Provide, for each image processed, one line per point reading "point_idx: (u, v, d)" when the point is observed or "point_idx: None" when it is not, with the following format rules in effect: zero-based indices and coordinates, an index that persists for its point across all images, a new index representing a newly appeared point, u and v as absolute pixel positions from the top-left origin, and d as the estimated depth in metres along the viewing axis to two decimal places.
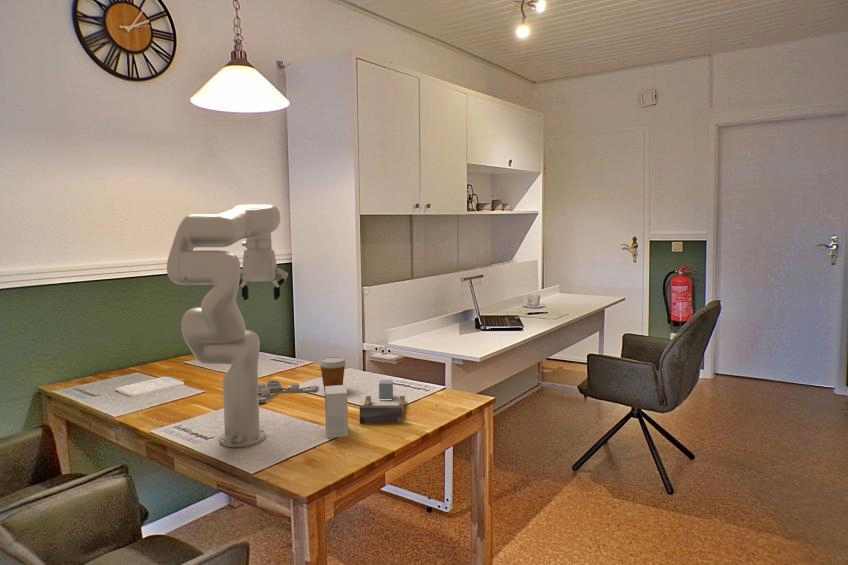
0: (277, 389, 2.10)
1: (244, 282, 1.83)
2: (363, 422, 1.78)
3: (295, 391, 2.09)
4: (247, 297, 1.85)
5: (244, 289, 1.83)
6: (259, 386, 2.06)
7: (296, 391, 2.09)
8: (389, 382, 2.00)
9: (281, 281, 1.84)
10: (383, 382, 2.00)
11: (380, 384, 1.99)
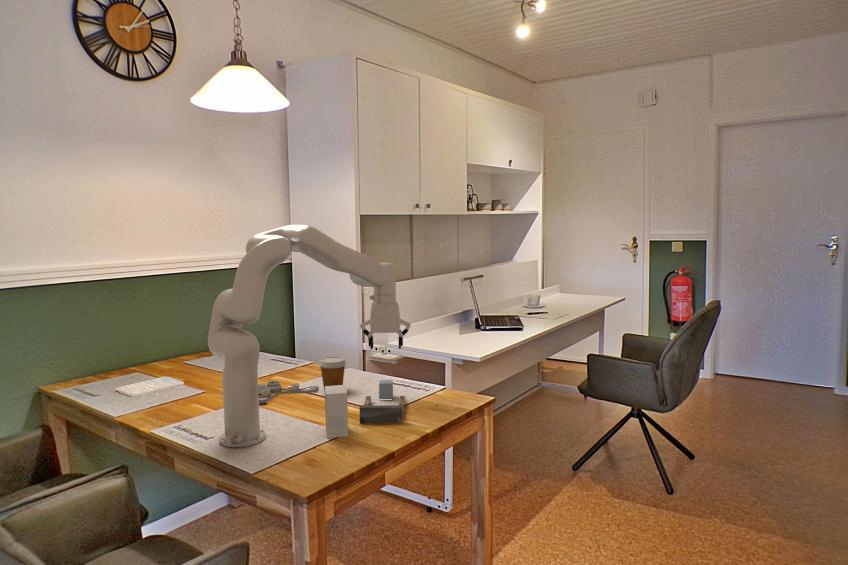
0: (277, 389, 2.10)
1: (371, 333, 1.98)
2: (363, 422, 1.78)
3: (295, 391, 2.08)
4: None
5: (371, 339, 1.98)
6: (259, 387, 2.06)
7: (296, 391, 2.08)
8: (389, 382, 2.00)
9: (405, 331, 1.99)
10: (383, 382, 2.00)
11: (380, 384, 1.99)
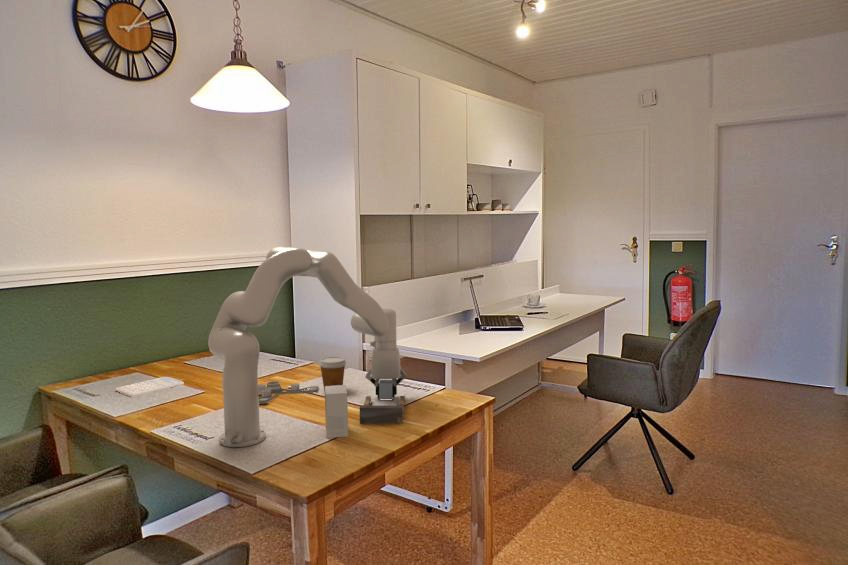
0: (277, 390, 2.09)
1: (378, 382, 2.00)
2: (363, 422, 1.78)
3: (296, 391, 2.08)
4: None
5: (378, 388, 2.00)
6: (259, 387, 2.05)
7: (297, 391, 2.08)
8: (389, 382, 2.00)
9: (399, 381, 2.01)
10: (383, 382, 2.00)
11: (380, 384, 1.99)
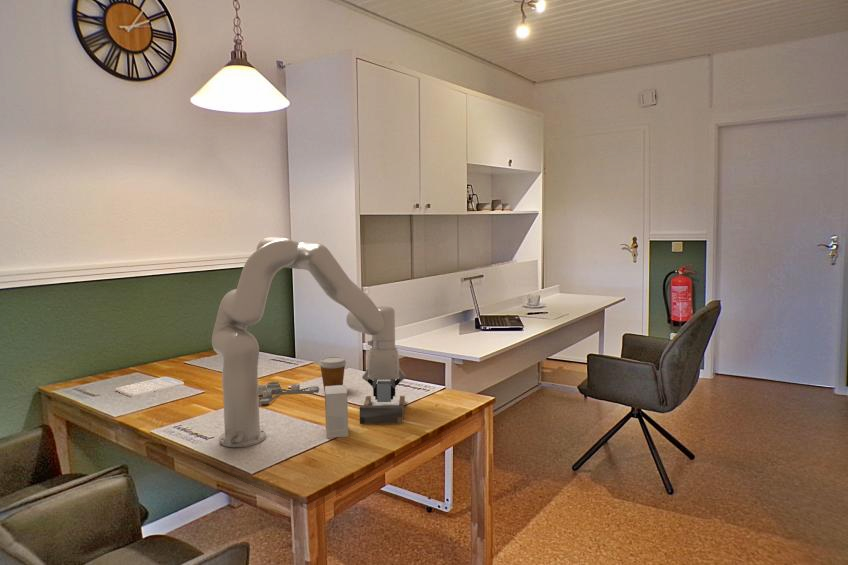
0: (277, 390, 2.09)
1: (376, 383, 1.91)
2: (363, 422, 1.78)
3: (296, 392, 2.08)
4: None
5: (376, 389, 1.91)
6: (260, 388, 2.04)
7: (297, 392, 2.08)
8: (387, 383, 1.92)
9: (397, 382, 1.92)
10: (381, 383, 1.91)
11: (378, 385, 1.90)
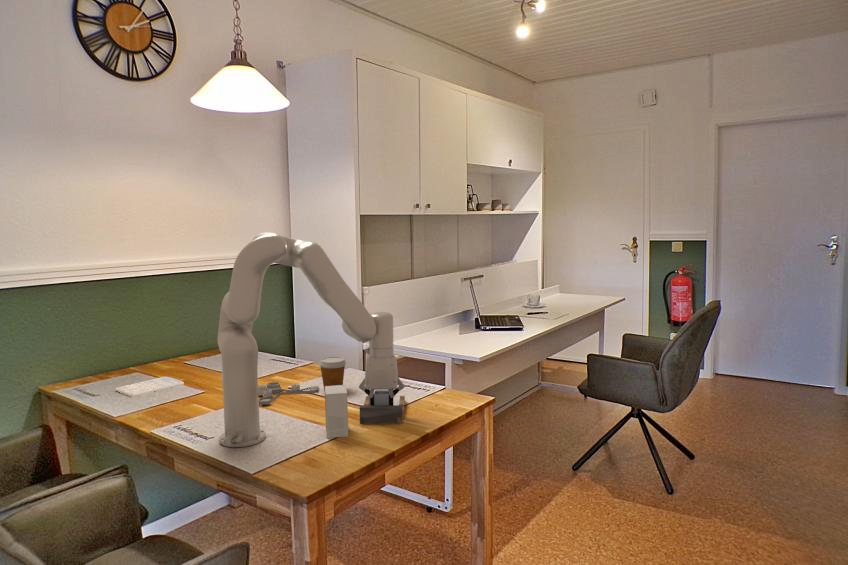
0: (278, 390, 2.08)
1: (373, 393, 1.81)
2: (363, 422, 1.78)
3: (296, 392, 2.08)
4: None
5: (373, 400, 1.81)
6: (260, 388, 2.04)
7: (297, 392, 2.08)
8: (385, 393, 1.82)
9: (396, 391, 1.82)
10: (379, 393, 1.81)
11: (375, 395, 1.81)
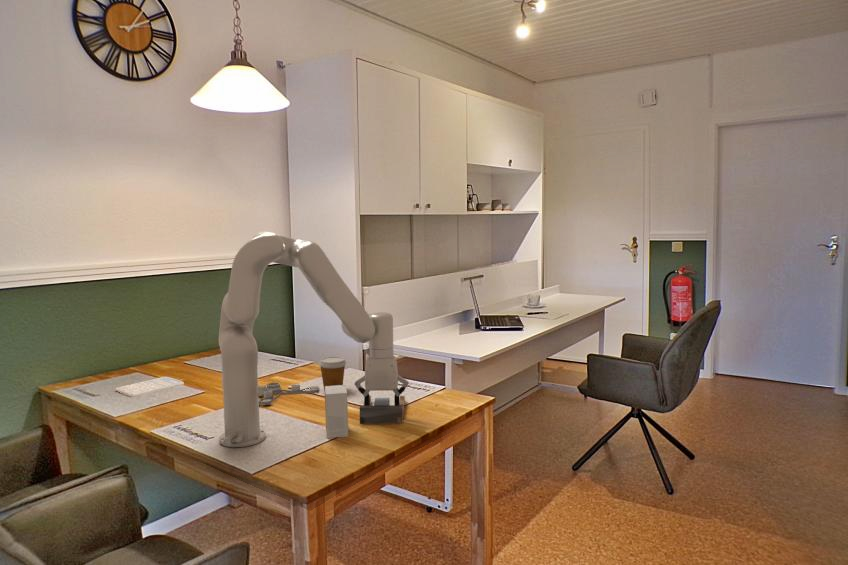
0: (278, 391, 2.08)
1: (367, 391, 1.80)
2: (363, 422, 1.78)
3: (297, 392, 2.07)
4: (369, 405, 1.82)
5: (367, 398, 1.80)
6: (260, 388, 2.04)
7: (298, 392, 2.07)
8: (385, 400, 1.80)
9: (402, 390, 1.80)
10: (379, 401, 1.80)
11: (375, 403, 1.79)
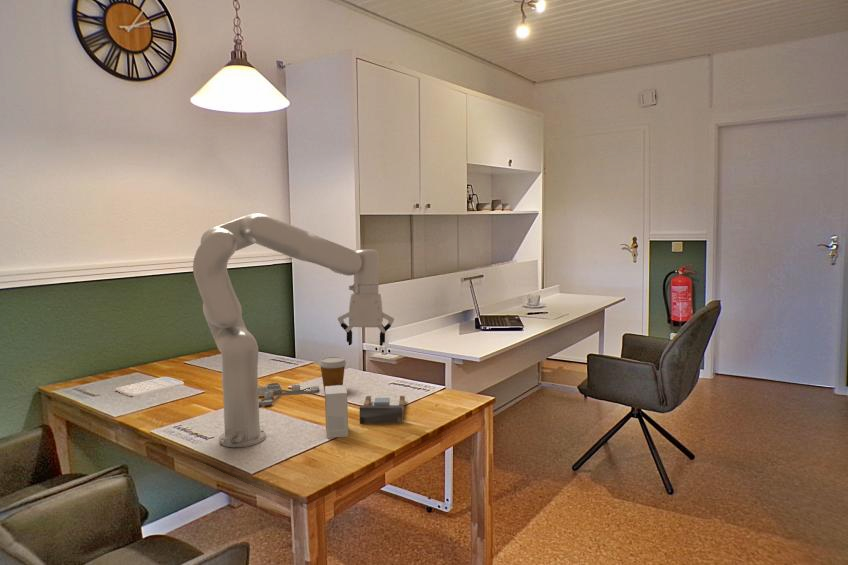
0: (278, 391, 2.07)
1: (350, 327, 1.78)
2: (363, 422, 1.78)
3: (297, 392, 2.07)
4: (351, 342, 1.81)
5: (349, 334, 1.78)
6: (261, 389, 2.03)
7: (298, 392, 2.07)
8: (385, 400, 1.80)
9: (387, 327, 1.79)
10: (379, 401, 1.80)
11: (375, 403, 1.79)
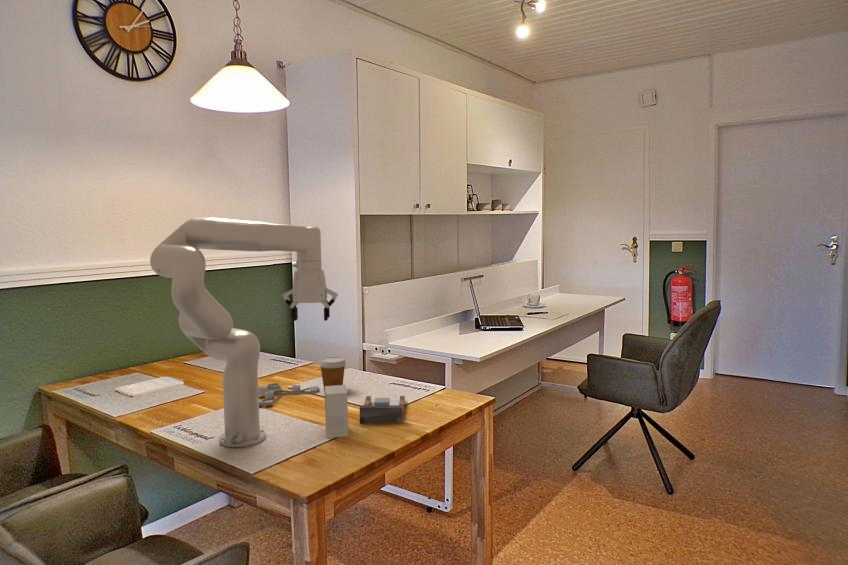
0: (278, 391, 2.07)
1: (294, 303, 1.82)
2: (363, 422, 1.78)
3: (297, 392, 2.07)
4: (296, 318, 1.84)
5: (294, 310, 1.82)
6: (261, 389, 2.03)
7: (299, 392, 2.07)
8: (385, 400, 1.80)
9: (331, 302, 1.83)
10: (379, 401, 1.80)
11: (375, 403, 1.79)
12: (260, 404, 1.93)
